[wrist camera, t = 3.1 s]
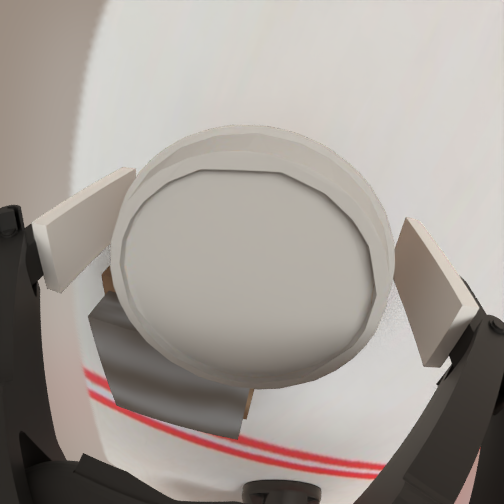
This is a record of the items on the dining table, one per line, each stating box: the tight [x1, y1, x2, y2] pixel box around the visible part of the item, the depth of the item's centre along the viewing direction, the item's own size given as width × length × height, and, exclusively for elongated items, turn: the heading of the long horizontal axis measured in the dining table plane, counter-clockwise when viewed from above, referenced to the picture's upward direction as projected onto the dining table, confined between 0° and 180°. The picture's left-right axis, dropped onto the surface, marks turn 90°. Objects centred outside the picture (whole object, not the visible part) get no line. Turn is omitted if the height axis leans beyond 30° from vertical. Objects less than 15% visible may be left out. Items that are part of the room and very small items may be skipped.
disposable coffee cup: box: [110, 125, 395, 389], centre depth 14 cm, size 10×10×12 cm
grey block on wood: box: [88, 266, 254, 440], centre depth 26 cm, size 16×14×5 cm
